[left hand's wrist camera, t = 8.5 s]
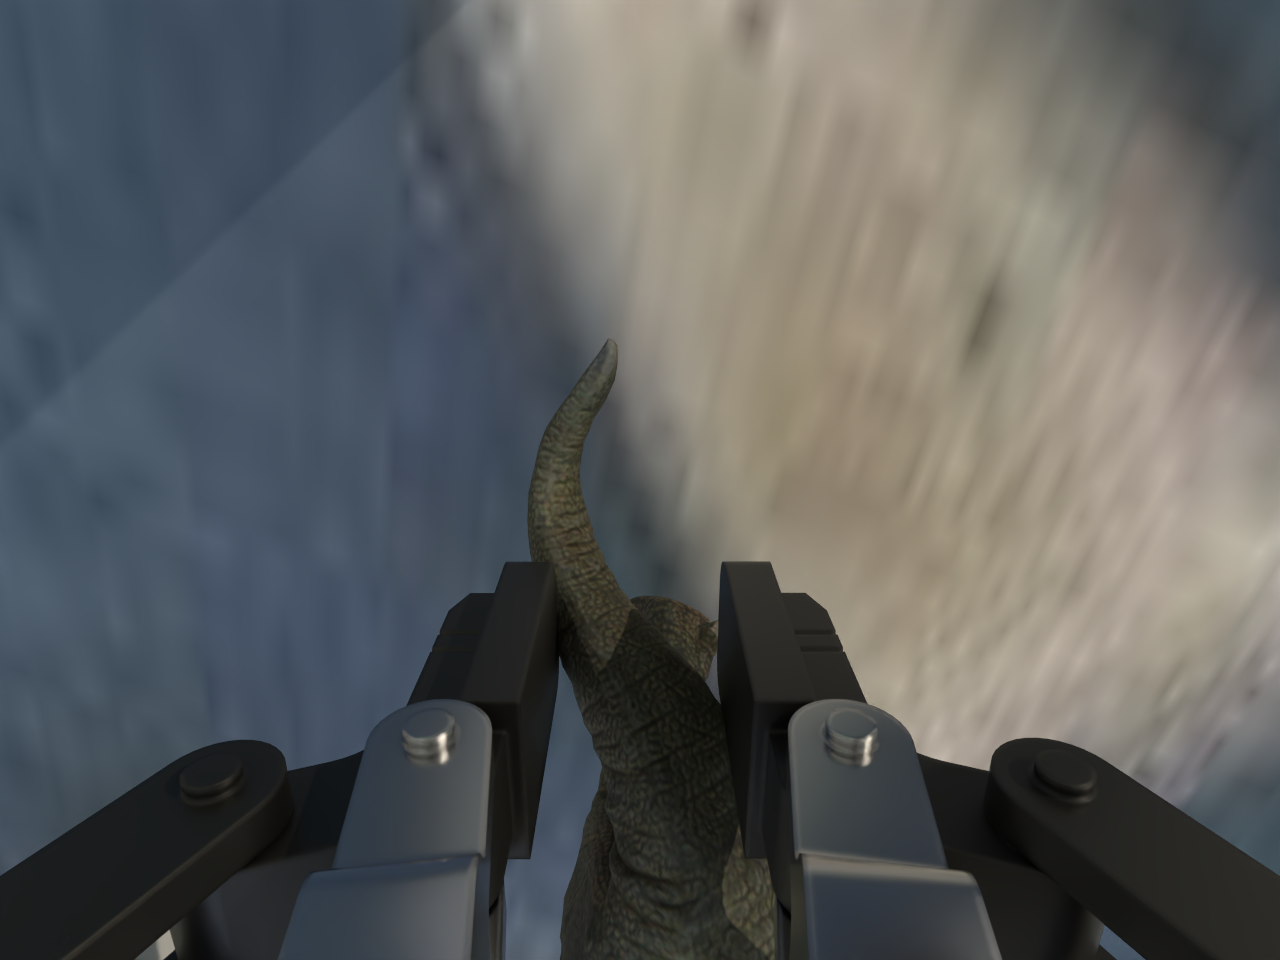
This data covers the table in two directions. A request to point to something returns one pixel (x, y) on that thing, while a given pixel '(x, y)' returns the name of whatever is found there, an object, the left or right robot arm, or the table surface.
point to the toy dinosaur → (642, 741)
